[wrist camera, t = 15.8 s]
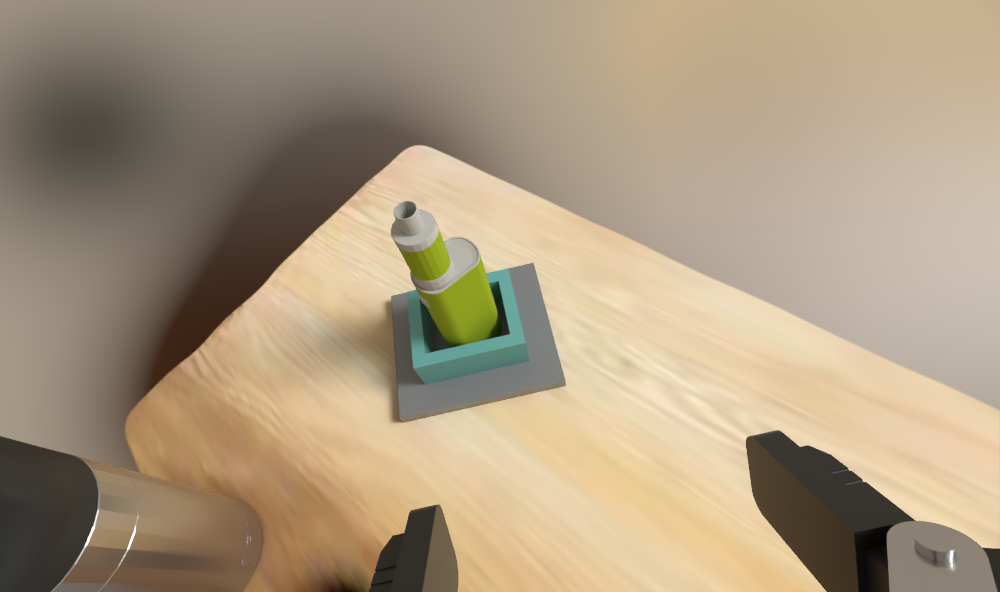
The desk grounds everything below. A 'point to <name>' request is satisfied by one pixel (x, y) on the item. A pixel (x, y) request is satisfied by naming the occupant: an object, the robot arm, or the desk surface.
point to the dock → (475, 351)
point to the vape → (446, 277)
